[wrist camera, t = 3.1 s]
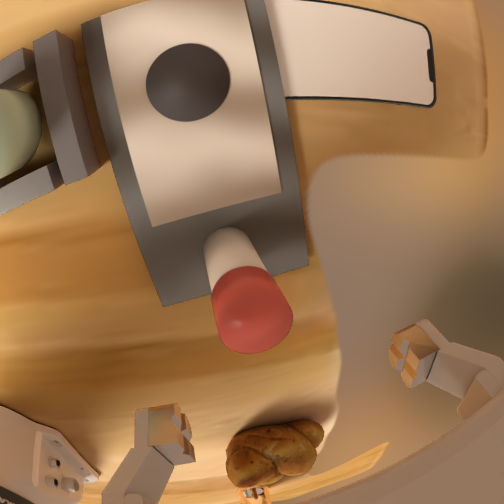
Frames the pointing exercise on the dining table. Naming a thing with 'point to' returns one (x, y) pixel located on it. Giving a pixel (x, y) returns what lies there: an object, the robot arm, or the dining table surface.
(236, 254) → the marker
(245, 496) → the beer glass
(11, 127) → the button
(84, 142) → the button base
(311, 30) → the smartphone
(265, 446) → the bread roll
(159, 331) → the dining table surface
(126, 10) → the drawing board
